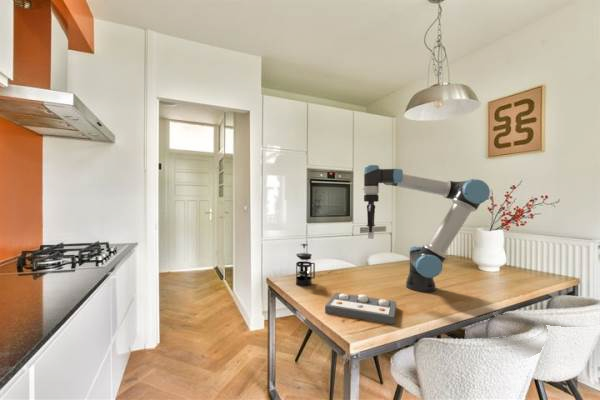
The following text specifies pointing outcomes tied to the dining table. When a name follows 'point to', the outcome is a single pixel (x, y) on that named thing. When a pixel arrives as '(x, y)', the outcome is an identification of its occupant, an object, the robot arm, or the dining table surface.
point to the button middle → (363, 298)
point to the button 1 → (343, 296)
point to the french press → (304, 278)
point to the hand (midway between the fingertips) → (370, 238)
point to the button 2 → (384, 302)
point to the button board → (362, 309)
